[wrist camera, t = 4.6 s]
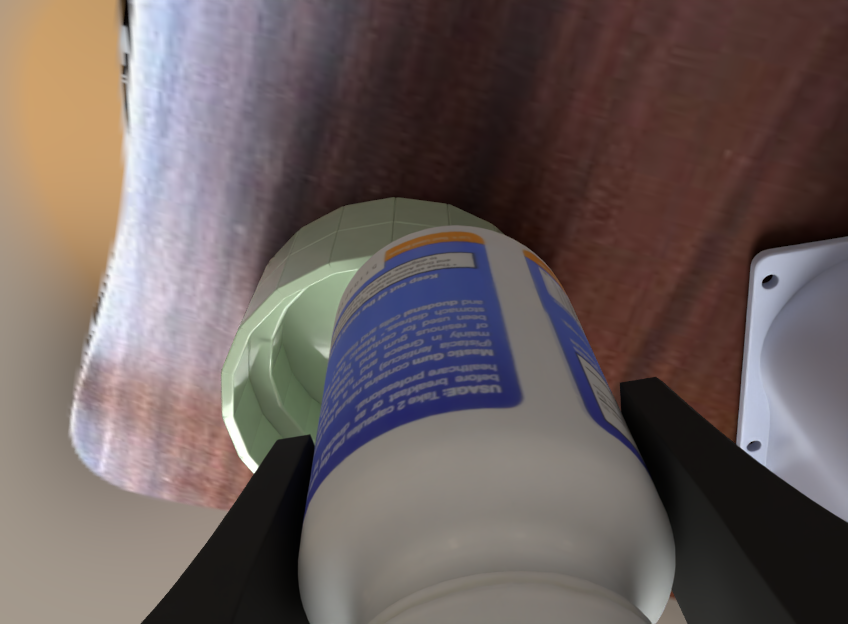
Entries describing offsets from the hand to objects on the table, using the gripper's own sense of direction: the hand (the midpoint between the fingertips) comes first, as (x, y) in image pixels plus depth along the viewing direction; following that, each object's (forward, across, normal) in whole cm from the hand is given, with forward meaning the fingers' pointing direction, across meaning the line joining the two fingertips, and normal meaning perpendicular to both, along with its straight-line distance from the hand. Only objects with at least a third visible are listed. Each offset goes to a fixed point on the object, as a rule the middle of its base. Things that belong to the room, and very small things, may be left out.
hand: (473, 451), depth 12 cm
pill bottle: (+4, 0, 0) cm, 5 cm away
